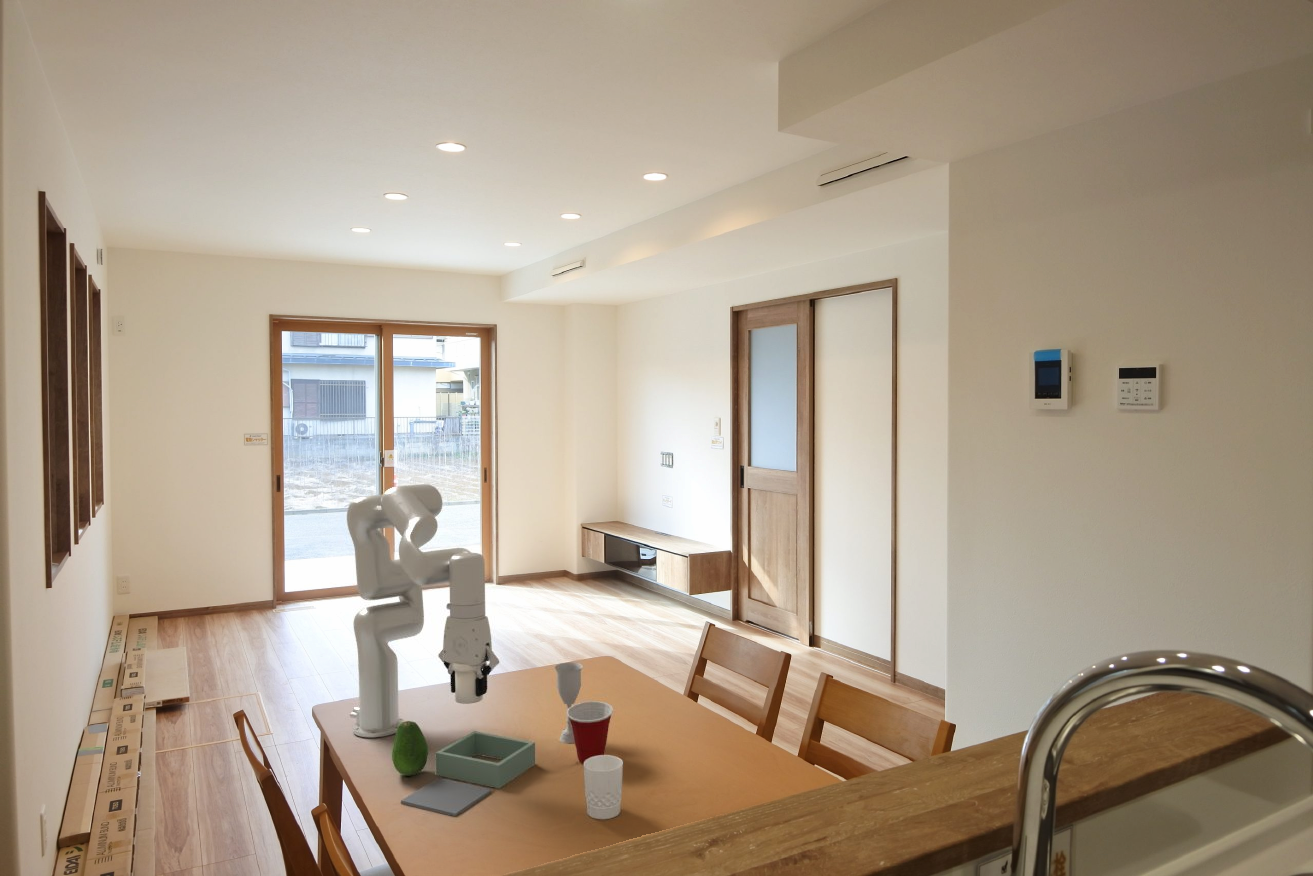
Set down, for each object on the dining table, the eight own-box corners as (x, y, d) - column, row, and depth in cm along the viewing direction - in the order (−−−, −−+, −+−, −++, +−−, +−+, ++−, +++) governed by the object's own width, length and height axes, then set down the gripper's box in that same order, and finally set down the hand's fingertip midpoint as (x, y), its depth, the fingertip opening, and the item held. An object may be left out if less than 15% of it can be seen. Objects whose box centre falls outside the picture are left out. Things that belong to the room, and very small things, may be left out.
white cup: (584, 803, 174) (583, 755, 174) (622, 802, 175) (622, 754, 174) (584, 822, 166) (583, 771, 166) (624, 820, 167) (623, 770, 167)
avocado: (390, 771, 191) (389, 718, 190) (426, 765, 194) (425, 713, 193) (394, 785, 183) (393, 730, 183) (431, 778, 186) (430, 725, 186)
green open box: (435, 774, 188) (435, 752, 188) (474, 752, 201) (474, 731, 201) (499, 788, 181) (498, 765, 181) (535, 764, 194) (535, 742, 194)
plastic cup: (558, 766, 193) (558, 714, 192) (579, 748, 203) (578, 699, 202) (602, 773, 189) (602, 719, 189) (621, 754, 199) (620, 704, 199)
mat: (400, 803, 175) (400, 800, 175) (439, 780, 186) (438, 777, 186) (455, 816, 169) (455, 813, 169) (491, 792, 180) (491, 789, 180)
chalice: (578, 746, 204) (577, 672, 204) (551, 744, 206) (550, 670, 205) (587, 734, 212) (586, 663, 211) (561, 732, 213) (560, 661, 212)
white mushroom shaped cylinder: (445, 702, 183) (445, 662, 183) (465, 692, 189) (465, 654, 189) (472, 706, 180) (472, 666, 180) (491, 696, 186) (491, 657, 186)
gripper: (424, 610, 184) (425, 693, 185) (490, 617, 177) (492, 703, 178) (446, 603, 191) (447, 683, 191) (510, 610, 184) (512, 692, 185)
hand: (468, 692), depth 185 cm, fingers closed on white mushroom shaped cylinder, 5 cm apart
